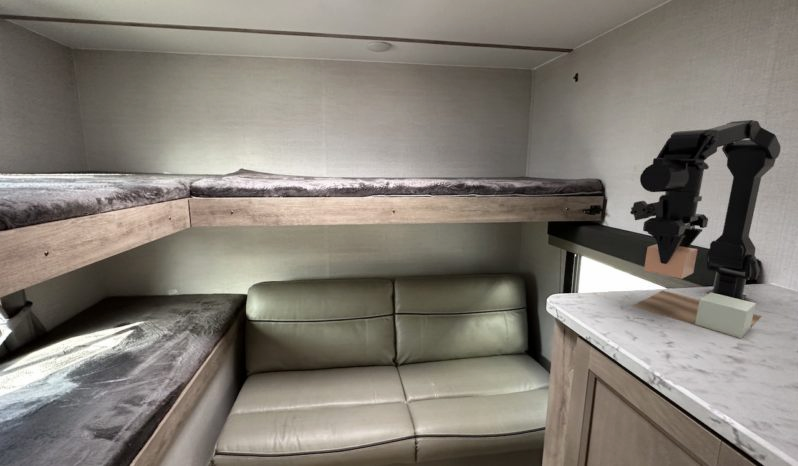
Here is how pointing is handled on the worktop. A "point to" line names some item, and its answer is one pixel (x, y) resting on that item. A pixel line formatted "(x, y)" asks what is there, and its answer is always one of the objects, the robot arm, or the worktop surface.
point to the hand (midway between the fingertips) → (670, 260)
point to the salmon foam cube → (671, 262)
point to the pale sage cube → (725, 314)
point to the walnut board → (677, 308)
